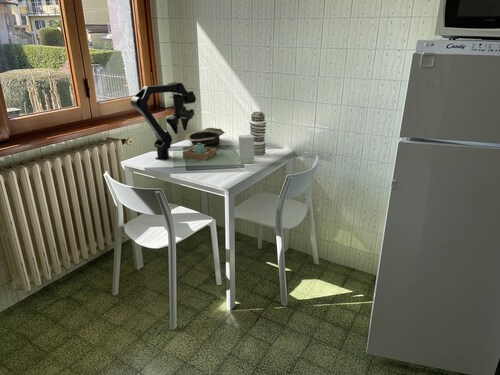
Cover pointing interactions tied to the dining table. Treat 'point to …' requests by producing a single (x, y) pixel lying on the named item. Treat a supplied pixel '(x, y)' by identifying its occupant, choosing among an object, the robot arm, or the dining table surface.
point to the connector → (199, 148)
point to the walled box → (198, 156)
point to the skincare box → (246, 148)
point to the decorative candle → (258, 133)
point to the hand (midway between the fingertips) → (180, 132)
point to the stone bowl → (205, 136)
